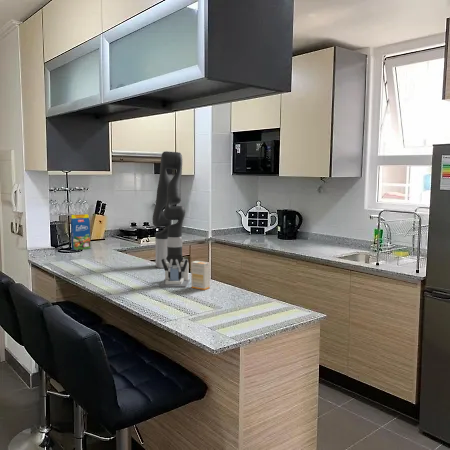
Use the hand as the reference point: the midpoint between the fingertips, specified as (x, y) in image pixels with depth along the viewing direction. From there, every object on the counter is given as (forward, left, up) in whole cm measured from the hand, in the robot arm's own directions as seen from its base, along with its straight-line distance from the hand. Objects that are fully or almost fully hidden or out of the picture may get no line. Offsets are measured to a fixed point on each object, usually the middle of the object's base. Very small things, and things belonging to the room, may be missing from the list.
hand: (174, 278), depth 233 cm
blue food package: (-93, -85, -3) cm, 126 cm away
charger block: (0, 0, -1) cm, 1 cm away
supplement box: (+7, +14, -3) cm, 16 cm away
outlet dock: (0, 0, -3) cm, 3 cm away
